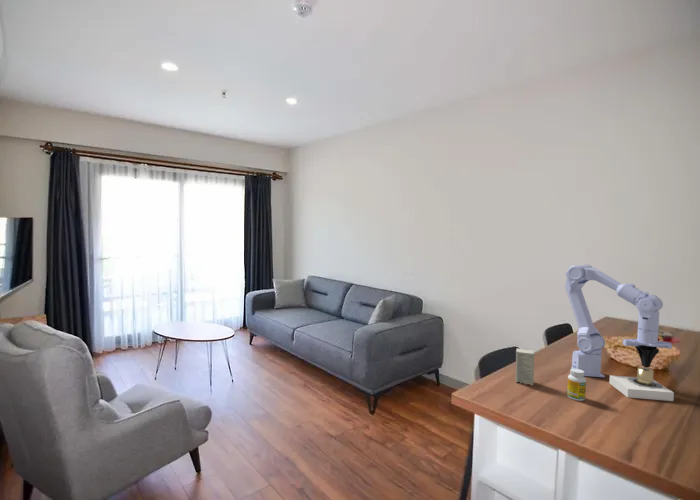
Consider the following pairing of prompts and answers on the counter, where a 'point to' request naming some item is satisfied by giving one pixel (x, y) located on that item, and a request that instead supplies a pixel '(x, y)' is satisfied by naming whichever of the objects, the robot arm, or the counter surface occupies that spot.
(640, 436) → the counter surface
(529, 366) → the skincare box
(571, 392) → the supplement bottle
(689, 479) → the counter surface
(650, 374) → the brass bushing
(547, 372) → the counter surface
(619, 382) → the plate
